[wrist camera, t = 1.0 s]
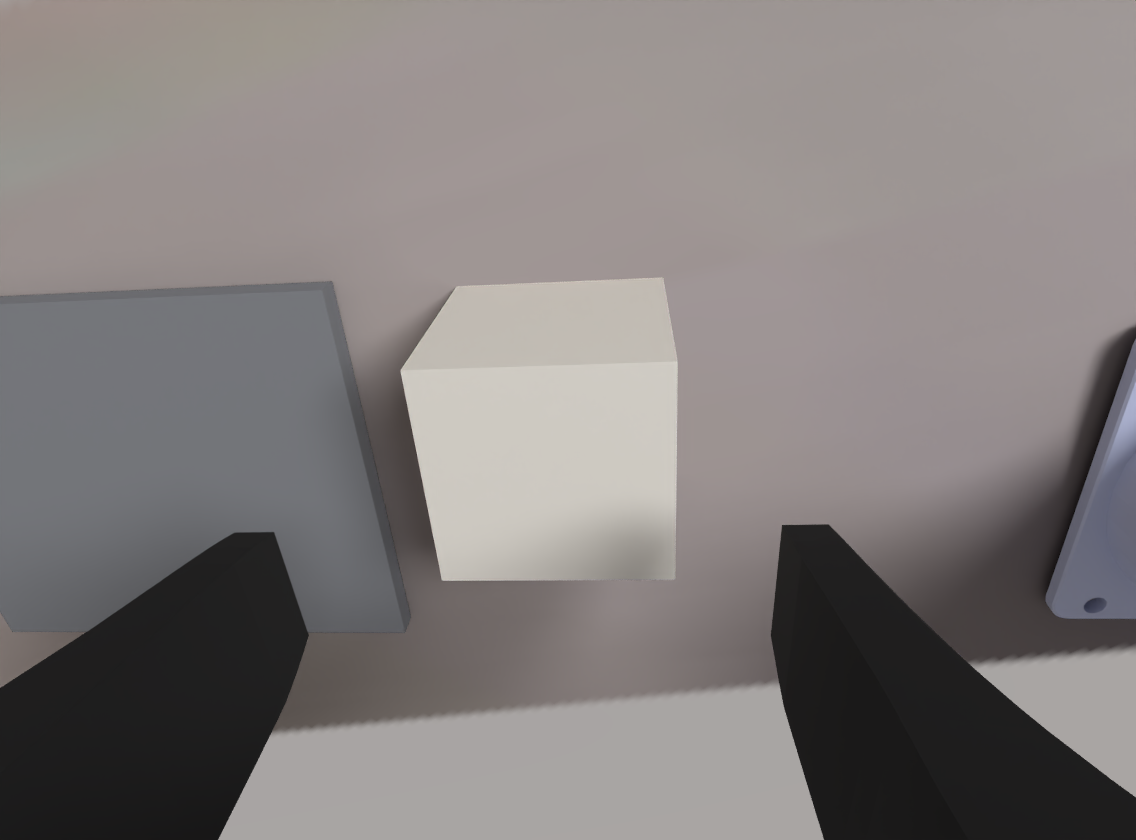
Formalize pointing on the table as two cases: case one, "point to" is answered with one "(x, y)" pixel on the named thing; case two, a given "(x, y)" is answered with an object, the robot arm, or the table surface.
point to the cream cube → (549, 431)
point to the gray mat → (185, 451)
